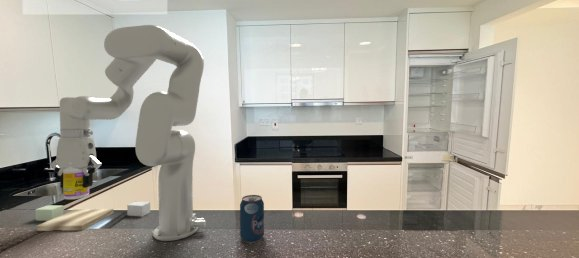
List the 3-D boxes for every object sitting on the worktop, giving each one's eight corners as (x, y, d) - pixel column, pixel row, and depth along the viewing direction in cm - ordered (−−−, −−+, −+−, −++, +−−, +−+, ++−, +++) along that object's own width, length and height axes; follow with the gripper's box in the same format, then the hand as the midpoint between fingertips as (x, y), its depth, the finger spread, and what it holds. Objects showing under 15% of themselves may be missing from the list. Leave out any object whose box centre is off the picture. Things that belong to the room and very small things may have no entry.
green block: (63, 216, 86) (63, 205, 86) (52, 221, 82) (51, 209, 82) (48, 216, 87) (47, 205, 86) (35, 220, 83) (35, 209, 82)
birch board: (113, 213, 89) (113, 209, 89) (82, 230, 75) (82, 225, 75) (74, 213, 89) (74, 209, 89) (35, 230, 75) (35, 226, 75)
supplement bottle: (74, 200, 78) (73, 161, 77) (58, 199, 79) (57, 160, 79) (94, 194, 84) (93, 158, 84) (79, 193, 86) (78, 157, 85)
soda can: (258, 245, 66) (257, 202, 66) (235, 242, 68) (235, 200, 68) (267, 234, 73) (267, 195, 72) (246, 231, 75) (246, 193, 74)
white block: (150, 212, 90) (150, 202, 90) (142, 216, 86) (142, 205, 86) (135, 211, 91) (135, 201, 91) (127, 215, 87) (127, 205, 87)
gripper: (109, 133, 85) (110, 183, 86) (59, 133, 84) (60, 183, 85) (93, 135, 77) (94, 189, 78) (37, 134, 77) (39, 189, 77)
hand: (76, 186), depth 81 cm, fingers closed on supplement bottle, 6 cm apart
